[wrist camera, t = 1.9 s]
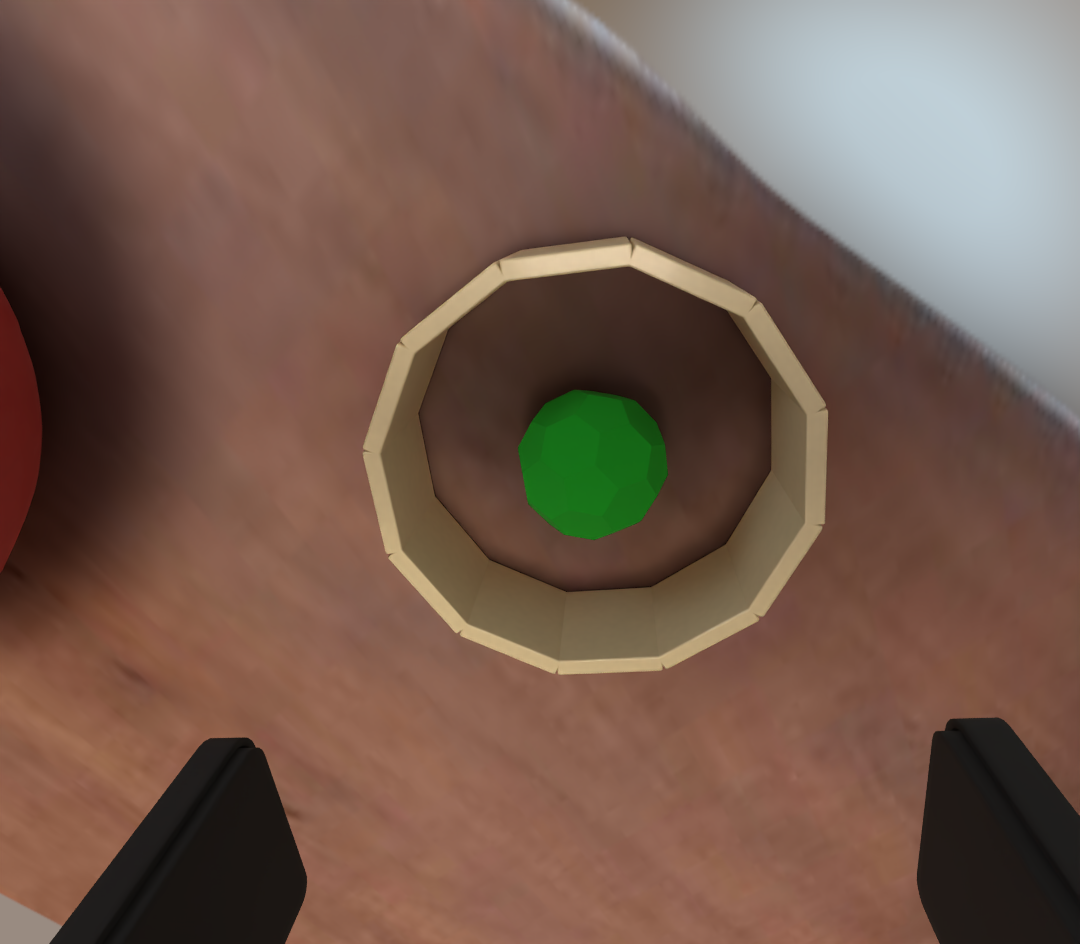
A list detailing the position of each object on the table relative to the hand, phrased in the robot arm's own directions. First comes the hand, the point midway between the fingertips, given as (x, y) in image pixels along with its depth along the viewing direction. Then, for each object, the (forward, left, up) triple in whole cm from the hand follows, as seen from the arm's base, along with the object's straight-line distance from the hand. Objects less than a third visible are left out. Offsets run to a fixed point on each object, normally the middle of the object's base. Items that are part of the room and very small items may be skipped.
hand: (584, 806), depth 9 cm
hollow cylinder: (0, 0, -16) cm, 16 cm away
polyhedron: (0, 0, -16) cm, 17 cm away
